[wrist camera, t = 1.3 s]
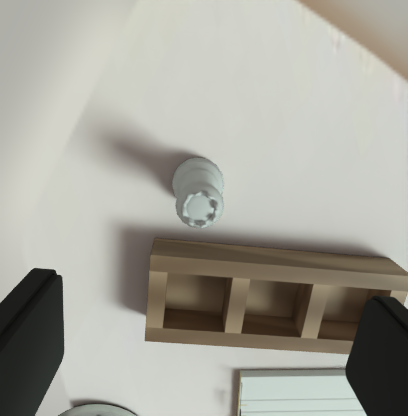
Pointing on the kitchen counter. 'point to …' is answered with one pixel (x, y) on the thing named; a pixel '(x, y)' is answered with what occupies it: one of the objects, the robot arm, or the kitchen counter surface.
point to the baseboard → (296, 393)
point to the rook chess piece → (198, 192)
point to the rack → (263, 295)
